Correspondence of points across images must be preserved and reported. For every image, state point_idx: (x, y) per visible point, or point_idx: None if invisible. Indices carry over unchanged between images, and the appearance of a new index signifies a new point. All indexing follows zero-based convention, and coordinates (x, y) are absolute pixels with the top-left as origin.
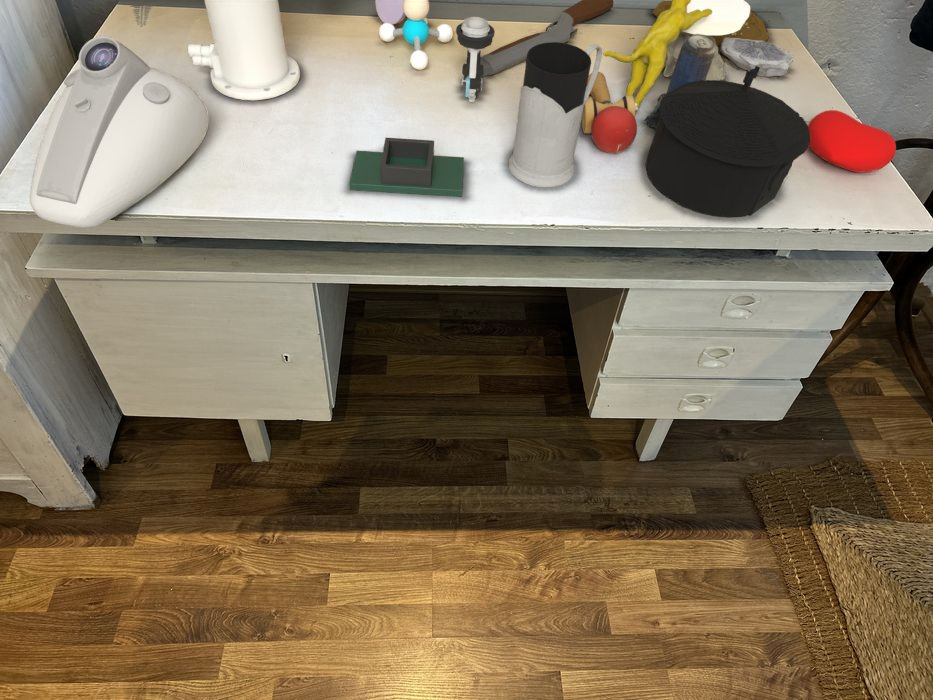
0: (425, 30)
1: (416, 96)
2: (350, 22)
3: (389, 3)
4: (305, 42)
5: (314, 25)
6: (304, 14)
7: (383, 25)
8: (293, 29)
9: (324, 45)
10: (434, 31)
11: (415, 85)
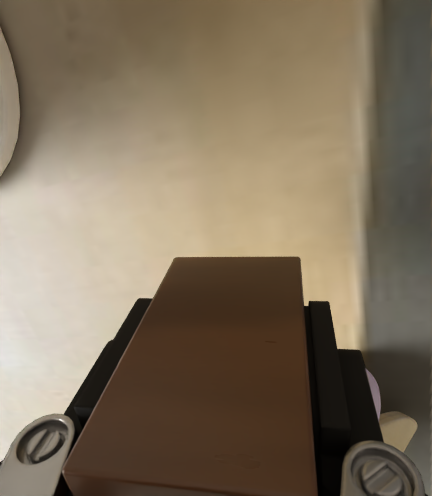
0: None
1: (28, 411)
2: (313, 279)
3: None
4: (149, 165)
5: (273, 169)
6: (363, 108)
7: None
8: (227, 97)
9: (150, 226)
10: None
11: (60, 412)
